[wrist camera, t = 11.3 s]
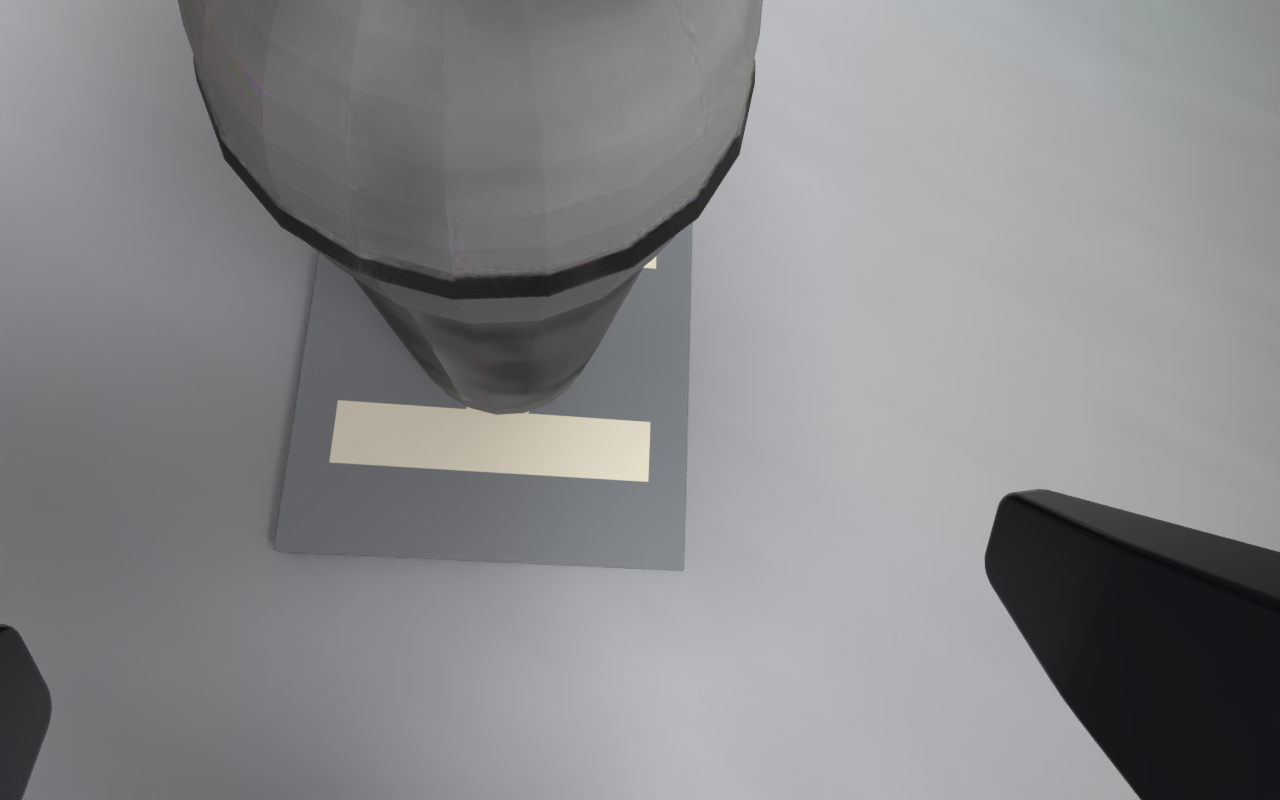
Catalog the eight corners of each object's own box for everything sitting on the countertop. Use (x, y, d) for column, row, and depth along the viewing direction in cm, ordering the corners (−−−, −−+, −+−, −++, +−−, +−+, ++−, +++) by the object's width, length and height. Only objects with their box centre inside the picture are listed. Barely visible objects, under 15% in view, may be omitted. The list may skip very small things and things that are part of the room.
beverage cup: (312, 282, 22) (-1360, -2395, 2) (553, 166, 23) (690, -1892, 4) (451, 521, 20) (-580, -881, 1) (691, 380, 22) (1719, -1075, 3)
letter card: (681, 570, 21) (684, 570, 21) (278, 551, 20) (273, 550, 20) (691, 159, 25) (694, 151, 24) (343, 121, 23) (340, 112, 23)
